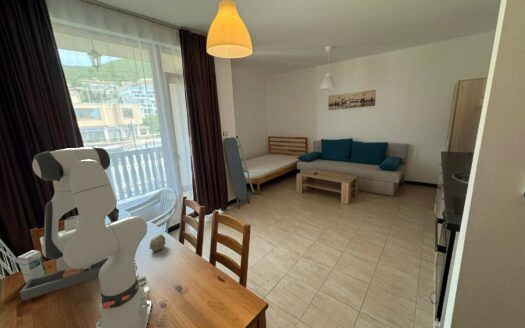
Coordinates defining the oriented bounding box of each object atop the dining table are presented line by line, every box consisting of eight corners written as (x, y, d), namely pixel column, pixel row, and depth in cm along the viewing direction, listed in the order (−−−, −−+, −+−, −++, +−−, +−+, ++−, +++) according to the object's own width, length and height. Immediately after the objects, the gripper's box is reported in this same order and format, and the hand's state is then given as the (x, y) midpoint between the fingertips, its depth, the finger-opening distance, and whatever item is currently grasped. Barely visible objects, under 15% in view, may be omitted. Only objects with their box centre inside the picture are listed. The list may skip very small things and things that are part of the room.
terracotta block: (80, 278, 101) (78, 270, 100) (64, 283, 98) (62, 275, 97) (83, 271, 106) (82, 263, 105) (68, 275, 103) (66, 267, 102)
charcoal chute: (112, 272, 106) (110, 265, 105) (22, 300, 90) (19, 292, 90) (114, 263, 114) (112, 255, 113) (31, 287, 98) (29, 279, 97)
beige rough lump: (163, 248, 130) (165, 232, 131) (166, 252, 123) (169, 235, 124) (146, 249, 124) (149, 233, 125) (149, 254, 117) (152, 236, 119)
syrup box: (33, 284, 100) (25, 257, 97) (24, 282, 101) (16, 256, 98) (47, 275, 106) (40, 250, 103) (39, 274, 107) (31, 249, 104)
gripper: (50, 256, 94) (57, 282, 97) (105, 243, 104) (110, 267, 106) (55, 249, 99) (62, 274, 102) (107, 237, 109) (112, 260, 112)
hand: (87, 270), depth 104 cm, fingers closed
